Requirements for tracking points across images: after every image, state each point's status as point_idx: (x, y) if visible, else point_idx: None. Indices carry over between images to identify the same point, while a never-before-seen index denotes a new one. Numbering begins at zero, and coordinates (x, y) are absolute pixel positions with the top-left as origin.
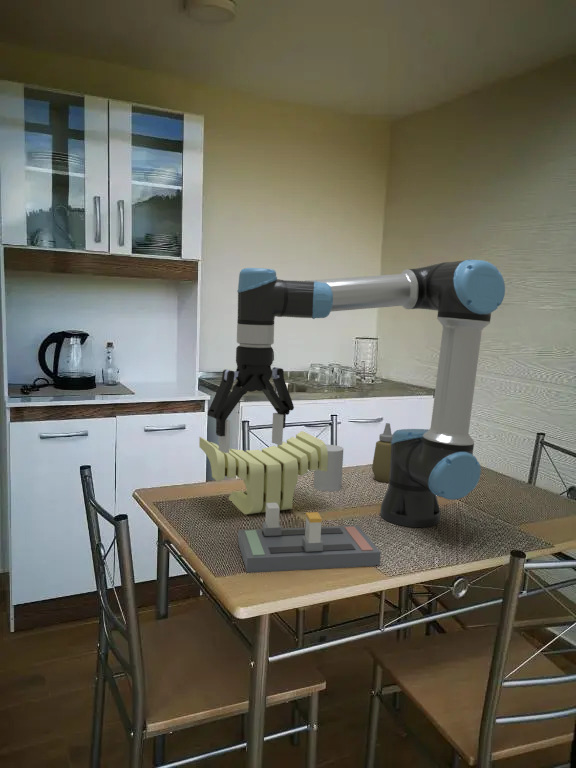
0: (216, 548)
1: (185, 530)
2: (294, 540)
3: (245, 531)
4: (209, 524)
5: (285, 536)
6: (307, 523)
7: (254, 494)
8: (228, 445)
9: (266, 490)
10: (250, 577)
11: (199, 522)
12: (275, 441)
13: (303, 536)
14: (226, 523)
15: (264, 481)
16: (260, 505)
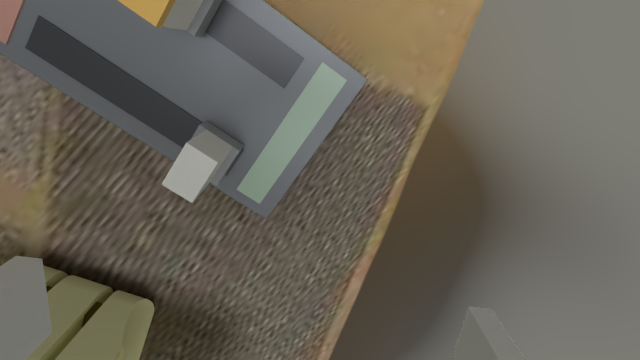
0: (327, 213)
1: (315, 317)
2: (195, 77)
3: (262, 198)
4: (255, 312)
5: (197, 113)
6: (179, 4)
7: (119, 323)
8: (495, 344)
9: (78, 319)
10: (374, 52)
11: (265, 331)
12: (34, 310)
13: (191, 33)
14: (221, 295)
15: (60, 348)
16: (118, 296)
